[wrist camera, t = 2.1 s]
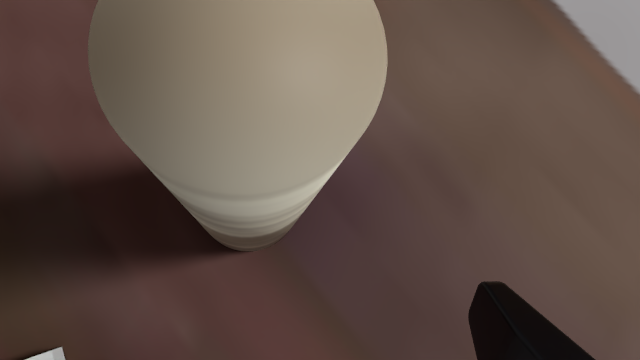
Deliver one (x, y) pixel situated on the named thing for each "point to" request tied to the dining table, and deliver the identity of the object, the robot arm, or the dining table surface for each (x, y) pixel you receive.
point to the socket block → (50, 355)
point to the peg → (239, 100)
